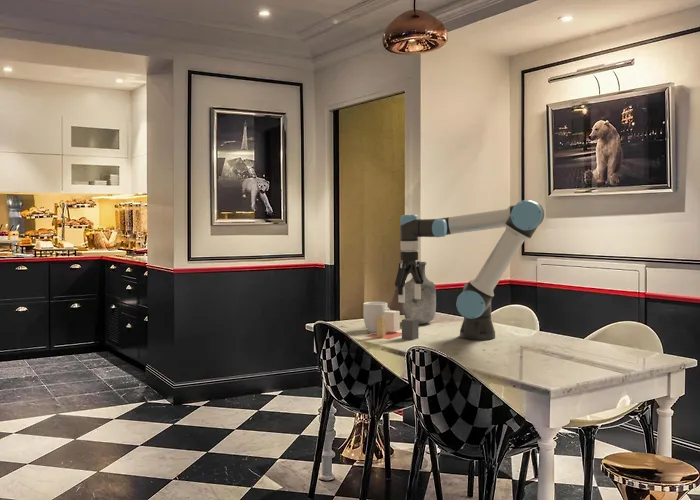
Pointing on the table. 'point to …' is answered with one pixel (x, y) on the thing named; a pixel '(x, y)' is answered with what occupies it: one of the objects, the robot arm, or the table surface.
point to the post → (381, 327)
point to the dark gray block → (410, 329)
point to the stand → (391, 325)
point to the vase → (420, 300)
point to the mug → (373, 314)
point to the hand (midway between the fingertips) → (409, 300)
